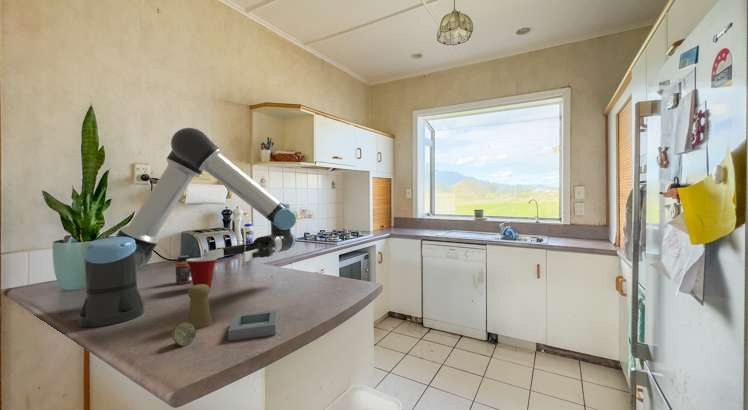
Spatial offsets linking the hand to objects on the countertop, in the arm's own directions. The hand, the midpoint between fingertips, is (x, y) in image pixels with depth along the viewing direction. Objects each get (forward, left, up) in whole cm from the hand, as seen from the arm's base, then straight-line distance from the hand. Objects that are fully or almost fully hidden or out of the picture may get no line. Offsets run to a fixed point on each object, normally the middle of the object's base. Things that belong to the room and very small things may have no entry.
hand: (225, 256), depth 95 cm
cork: (-5, -8, -17) cm, 20 cm away
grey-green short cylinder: (-6, -20, -17) cm, 27 cm away
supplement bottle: (-24, +45, -17) cm, 54 cm away
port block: (+10, -16, -17) cm, 25 cm away
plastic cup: (-14, +33, -17) cm, 40 cm away
